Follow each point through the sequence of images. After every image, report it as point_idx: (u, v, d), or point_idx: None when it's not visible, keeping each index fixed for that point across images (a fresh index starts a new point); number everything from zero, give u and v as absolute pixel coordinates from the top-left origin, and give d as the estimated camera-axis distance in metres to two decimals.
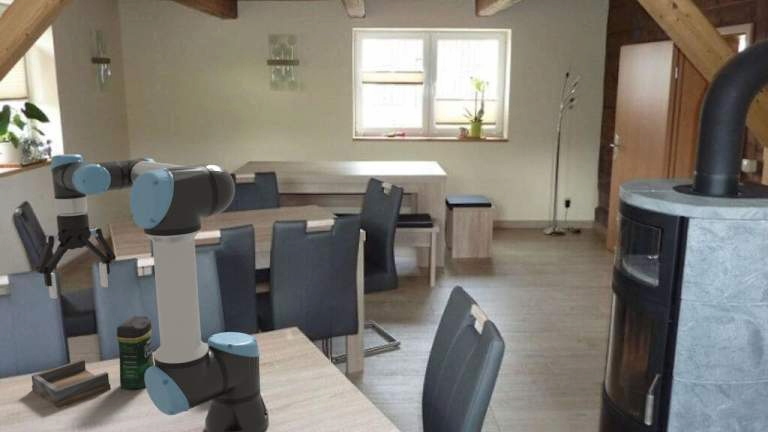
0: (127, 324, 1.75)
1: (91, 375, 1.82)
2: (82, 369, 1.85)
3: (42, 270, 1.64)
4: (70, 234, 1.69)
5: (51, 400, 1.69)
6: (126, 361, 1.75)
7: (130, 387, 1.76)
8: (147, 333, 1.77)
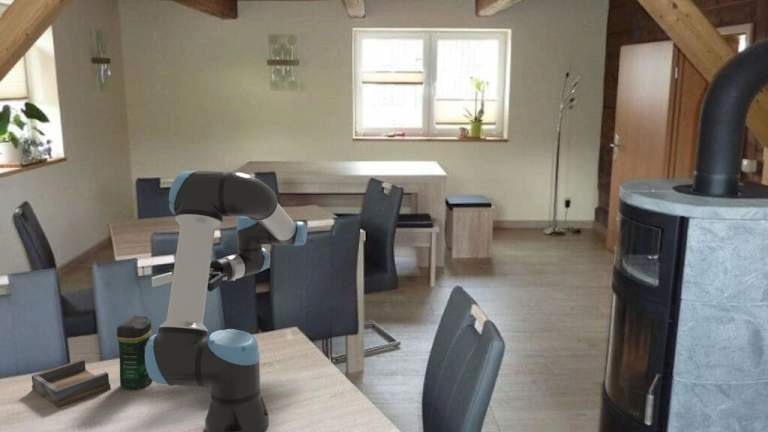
0: (127, 324, 1.75)
1: (91, 375, 1.82)
2: (82, 369, 1.85)
3: None
4: None
5: (51, 400, 1.69)
6: (126, 361, 1.75)
7: (130, 387, 1.76)
8: (147, 333, 1.77)
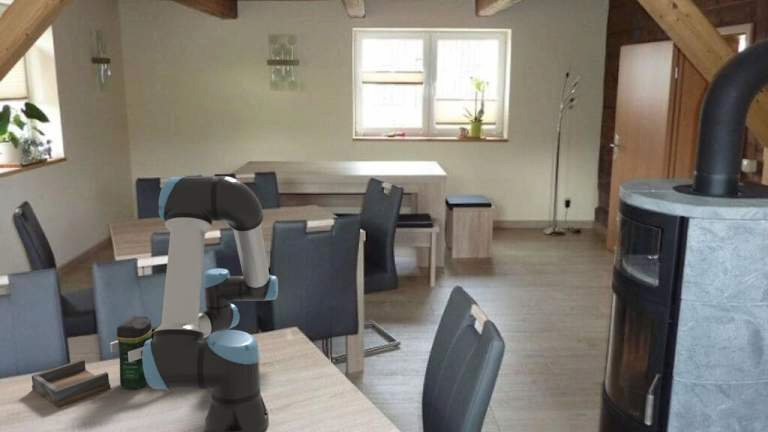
0: (127, 324, 1.75)
1: (91, 375, 1.82)
2: (82, 369, 1.85)
3: None
4: None
5: (51, 400, 1.69)
6: (126, 361, 1.75)
7: (130, 387, 1.76)
8: (147, 332, 1.77)
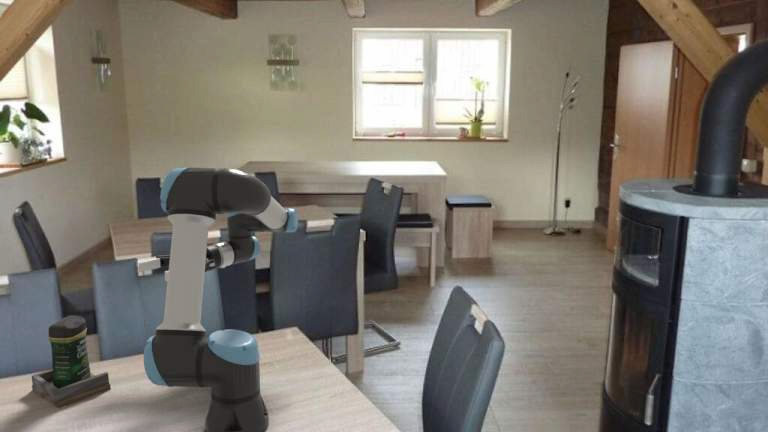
0: (59, 323, 1.71)
1: (91, 375, 1.82)
2: None
3: (158, 256, 1.94)
4: None
5: (51, 400, 1.69)
6: (58, 361, 1.71)
7: None
8: (80, 332, 1.73)
